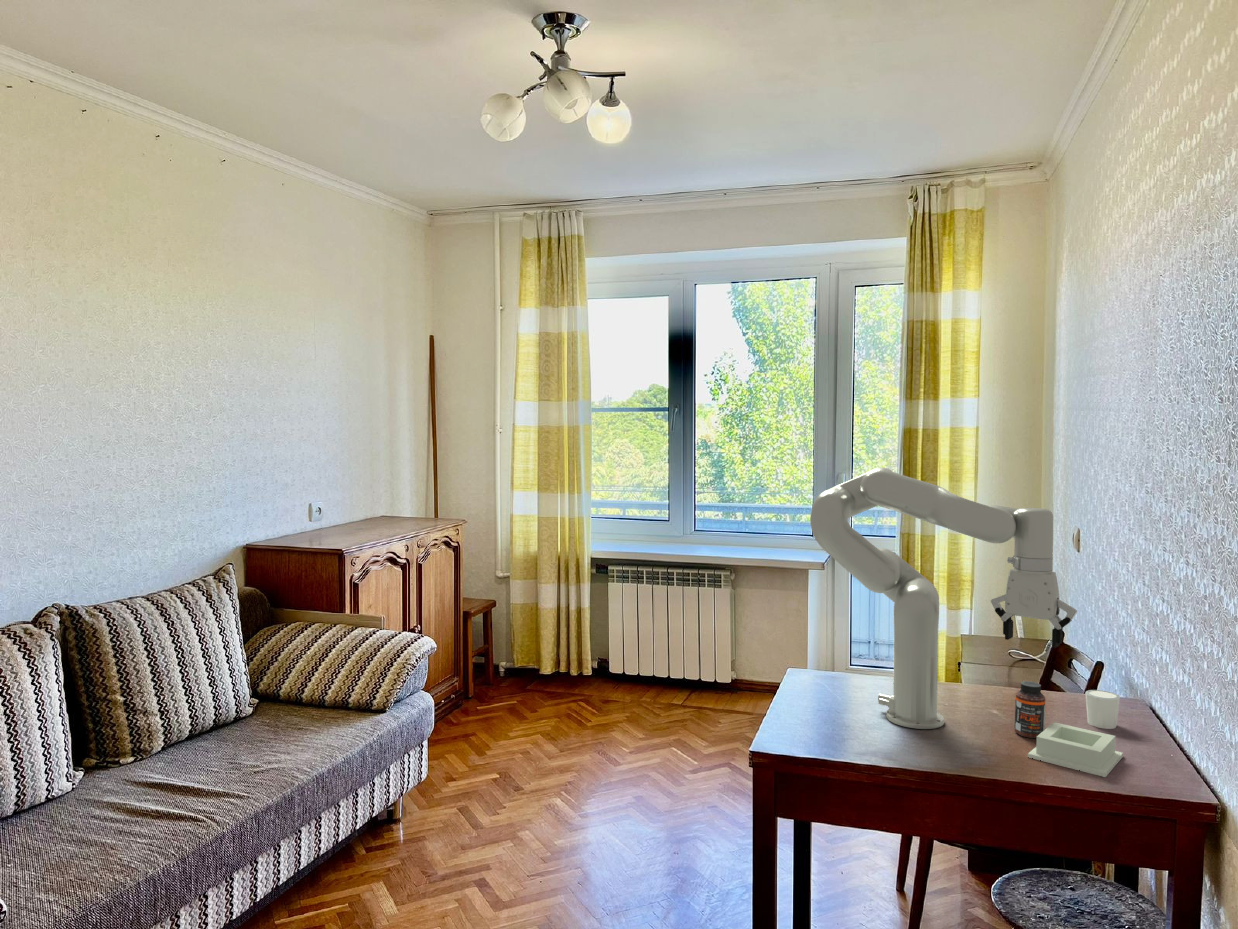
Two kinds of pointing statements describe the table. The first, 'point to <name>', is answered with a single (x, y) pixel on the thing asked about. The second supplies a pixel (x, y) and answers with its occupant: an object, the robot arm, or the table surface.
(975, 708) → the table surface
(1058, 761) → the socket block
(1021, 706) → the supplement bottle
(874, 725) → the table surface
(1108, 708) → the white cylinder
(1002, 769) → the table surface
